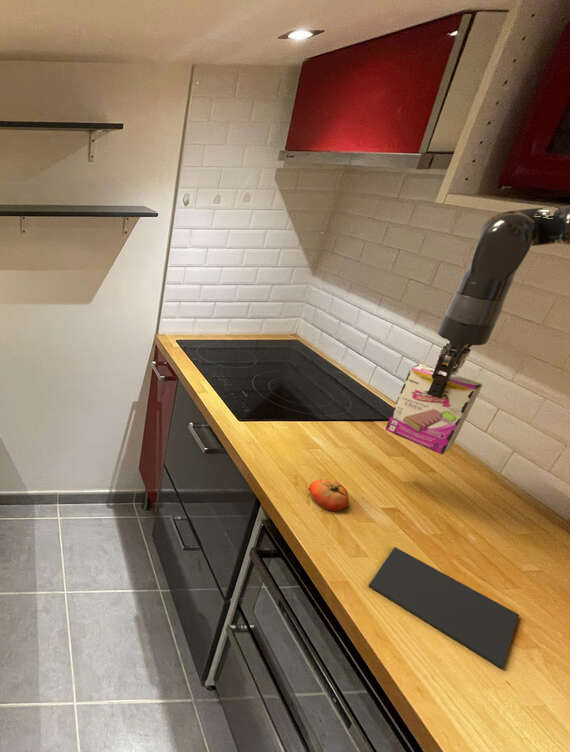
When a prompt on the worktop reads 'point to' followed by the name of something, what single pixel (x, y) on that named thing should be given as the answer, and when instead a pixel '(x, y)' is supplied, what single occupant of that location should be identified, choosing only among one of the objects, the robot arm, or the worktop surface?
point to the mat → (447, 605)
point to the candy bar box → (432, 409)
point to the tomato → (329, 494)
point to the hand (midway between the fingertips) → (438, 391)
